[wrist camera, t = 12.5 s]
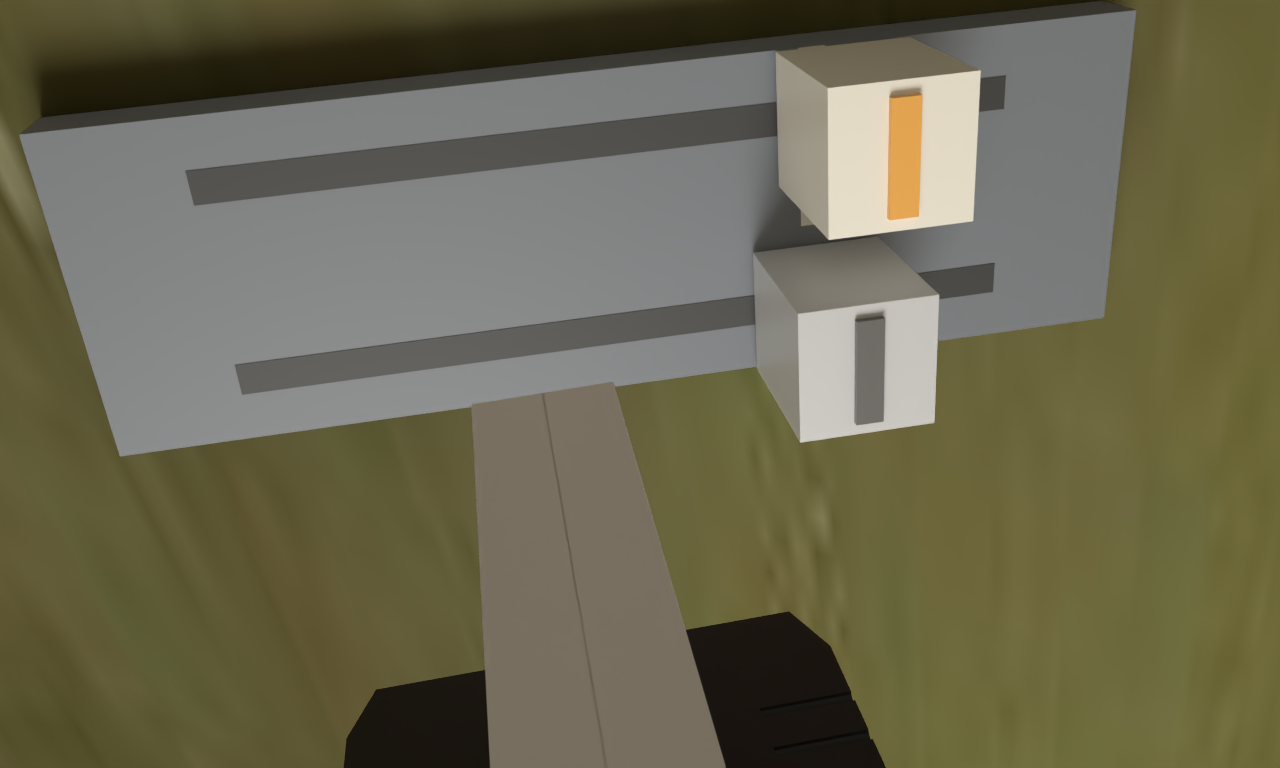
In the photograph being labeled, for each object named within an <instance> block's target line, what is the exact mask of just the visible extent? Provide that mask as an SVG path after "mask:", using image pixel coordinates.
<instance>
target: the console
mask: <svg viewBox="0 0 1280 768" xmlns="http://www.w3.org/2000/svg"><path fill="white" fill-rule="evenodd" d="M1135 18H1136V10H1134V9H1131V8H1127V7H1124V6H1120V5H1116V4H1113V3H1109V2H1106V1H1094V2H1085V3H1076V4H1067V5H1057V6H1048V7H1039V8H1030V9H1021V10H1012V11H1003V12H994V13H985V14H976V15H967V16H958V17H949V18H939V19H930V20H921V21H912V22H903V23H894V24H885V25H876V26H867V27H858V28H849V29H840V30H831V31H821V32H812V33H803V34H794V35H785V36H776V37H767V38H758V39H749V40H740V41H731V42H722V43H713V44H703V45H694V46H685V47H676V48H667V49H658V50H649V51H640V52H631V53H622V54H613V55H604V56H595V57H586V58H576V59H567V60H558V61H549V62H540V63H531V64H522V65H513V66H504V67H495V68H486V69H477V70H468V71H458V72H449V73H440V74H431V75H422V76H413V77H404V78H395V79H386V80H377V81H368V82H359V83H350V84H340V85H331V86H322V87H313V88H304V89H295V90H286V91H277V92H268V93H259V94H250V95H241V96H232V97H223V98H213V99H204V100H195V101H186V102H177V103H168V104H159V105H150V106H141V107H132V108H123V109H114V110H105V111H95V112H86V113H77V114H68V115H59V116H50V117H41V118H39V119H38V120H37V121H36V122H34V123H33V124H32V125H31V126H29V127H28V128H27V129H26V130H24V131H23V132H22V133H21V134H19V136H20V139H21V142H22V146H23V149H24V152H25V155H26V158H27V162H28V165H29V168H30V171H31V174H32V177H33V181H34V184H35V187H36V190H37V193H38V197H39V200H40V203H41V206H42V209H43V213H44V216H45V219H46V222H47V225H48V228H49V232H50V235H51V238H52V241H53V244H54V248H55V251H56V254H57V257H58V260H59V263H60V267H61V270H62V273H63V276H64V279H65V283H66V286H67V289H68V292H69V295H70V298H71V302H72V305H73V308H74V311H75V314H76V318H77V321H78V324H79V327H80V330H81V334H82V337H83V340H84V343H85V346H86V349H87V353H88V356H89V359H90V362H91V365H92V369H93V372H94V375H95V378H96V381H97V384H98V388H99V391H100V394H101V397H102V400H103V404H104V407H105V410H106V413H107V416H108V420H109V423H110V426H111V429H112V432H113V435H114V439H115V442H116V445H117V448H118V451H119V455H120V456H126V455H133V454H140V453H147V452H154V451H161V450H169V449H176V448H183V447H190V446H197V445H204V444H211V443H218V442H225V441H232V440H240V439H247V438H254V437H261V436H268V435H275V434H282V433H289V432H296V431H303V430H310V429H318V428H325V427H332V426H339V425H346V424H353V423H360V422H367V421H374V420H381V419H388V418H396V417H403V416H410V415H417V414H424V413H431V412H438V411H445V410H452V409H459V408H467V407H472V405H471V404H477V403H483V402H489V401H495V400H502V399H508V398H514V397H520V396H527V395H533V394H539V393H545V392H552V391H558V390H564V389H570V388H577V387H583V386H589V385H595V384H602V383H608V382H613V383H614V387H615V386H623V385H630V384H637V383H644V382H651V381H658V380H665V379H672V378H679V377H686V376H694V375H701V374H708V373H715V372H722V371H729V370H736V369H743V368H750V367H757V351H756V324H755V296H754V269H753V253H755V252H763V251H771V250H778V249H786V248H794V247H801V246H809V245H817V244H824V243H832V242H840V241H847V240H855V239H863V238H870V237H879V238H880V239H881V240H882V241H883V242H884V243H885V244H886V245H887V246H888V247H889V248H890V249H892V250H893V251H894V252H895V253H896V254H897V255H898V256H899V257H900V258H901V259H902V260H903V261H904V262H905V263H906V264H907V265H908V266H909V267H910V268H912V269H913V270H914V271H915V272H916V273H917V274H918V275H919V276H920V277H921V278H922V279H923V280H924V281H925V282H926V283H927V284H928V285H929V286H931V287H932V288H933V289H934V290H935V291H936V292H937V293H938V294H939V312H938V339H937V341H942V340H949V339H956V338H963V337H970V336H977V335H984V334H991V333H999V332H1006V331H1013V330H1020V329H1027V328H1034V327H1041V326H1048V325H1055V324H1062V323H1069V322H1077V321H1084V320H1091V319H1098V318H1104V311H1105V301H1106V292H1107V283H1108V273H1109V264H1110V254H1111V245H1112V235H1113V226H1114V216H1115V207H1116V197H1117V188H1118V179H1119V169H1120V160H1121V150H1122V141H1123V131H1124V122H1125V112H1126V103H1127V93H1128V84H1129V75H1130V65H1131V56H1132V46H1133V37H1134V27H1135ZM904 37H911V38H913V39H915V40H917V41H919V42H921V43H924V44H926V45H928V46H930V47H932V48H934V49H936V50H938V51H941V52H943V53H945V54H947V55H949V56H951V57H953V58H955V59H958V60H960V61H962V62H964V63H966V64H968V65H970V66H972V67H975V68H977V69H979V70H981V76H980V96H979V115H978V135H977V155H976V175H975V195H974V215H973V221H972V222H964V223H956V224H948V225H941V226H933V227H925V228H918V229H910V230H902V231H895V232H887V233H879V234H872V235H864V236H856V237H848V238H841V239H833V240H828V239H827V238H826V237H825V236H824V235H823V233H822V232H821V231H820V230H819V229H818V228H817V227H816V226H815V225H814V224H813V223H812V222H811V221H810V219H809V218H808V217H807V216H806V215H805V214H804V213H803V212H802V211H801V210H800V209H799V208H798V207H797V206H796V204H795V203H794V202H793V201H792V200H791V199H790V198H789V197H788V196H787V195H786V194H785V193H784V192H783V190H782V189H781V188H780V187H779V169H778V130H777V91H776V52H778V51H787V50H796V49H805V48H814V47H823V46H832V45H841V44H850V43H859V42H868V41H877V40H886V39H895V38H904Z"/></svg>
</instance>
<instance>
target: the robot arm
mask: <svg viewBox="0 0 1280 768" xmlns="http://www.w3.org/2000/svg"><path fill="white" fill-rule="evenodd" d="M471 405H472V424H473V444H474V463H475V483H476V502H477V521H478V541H479V560H480V580H481V599H482V619H483V638H484V658H485V670H483V671H477V672H472V673H466V674H461V675H455V676H449V677H444V678H438V679H433V680H427V681H422V682H416V683H411V684H405V685H399V686H394V687H388V688H383V689H377V690H376V691H375V692H374V694H373V696H372V697H371V699H370V701H369V702H368V704H367V706H366V707H365V709H364V711H363V712H362V714H361V716H360V717H359V719H358V721H357V722H356V724H355V726H354V727H353V729H352V731H351V732H350V734H349V735H348V737H347V741H346V751H345V761H344V768H886V767H885V765H884V763H883V761H882V758H881V756H880V754H879V752H878V750H877V747H876V745H875V743H874V741H873V739H870V736H869V732H868V728H867V725H866V723H865V721H864V719H863V717H862V715H861V712H860V710H859V708H858V706H857V704H856V701H853V699H852V696H851V690H850V688H849V686H848V684H847V682H846V679H845V677H844V675H843V673H842V671H841V668H840V666H839V664H838V662H837V660H836V658H835V655H834V653H833V651H832V649H831V647H830V645H828V644H827V643H826V642H825V641H824V640H822V639H821V638H820V637H819V636H818V635H816V634H815V633H814V632H813V631H812V630H811V629H809V628H808V627H807V626H806V625H805V624H803V623H802V622H801V621H800V620H799V619H797V618H796V617H795V616H794V615H793V614H791V613H790V612H784V613H778V614H773V615H767V616H761V617H756V618H750V619H745V620H739V621H734V622H728V623H722V624H717V625H711V626H706V627H700V628H695V629H689V630H686V629H685V626H684V623H683V619H682V616H681V612H680V609H679V605H678V602H677V599H676V595H675V592H674V588H673V585H672V582H671V578H670V575H669V571H668V568H667V564H666V561H665V558H664V554H663V551H662V547H661V544H660V540H659V537H658V534H657V530H656V527H655V523H654V520H653V517H652V513H651V510H650V506H649V503H648V499H647V496H646V493H645V489H644V486H643V482H642V479H641V476H640V472H639V469H638V465H637V462H636V458H635V455H634V452H633V448H632V445H631V441H630V438H629V435H628V431H627V428H626V424H625V421H624V417H623V414H622V411H621V407H620V404H619V400H618V397H617V394H616V390H615V387H614V383H613V382H608V383H602V384H595V385H589V386H583V387H577V388H570V389H564V390H558V391H552V392H545V393H539V394H533V395H527V396H520V397H514V398H508V399H502V400H495V401H489V402H483V403H477V404H471Z"/></svg>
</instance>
